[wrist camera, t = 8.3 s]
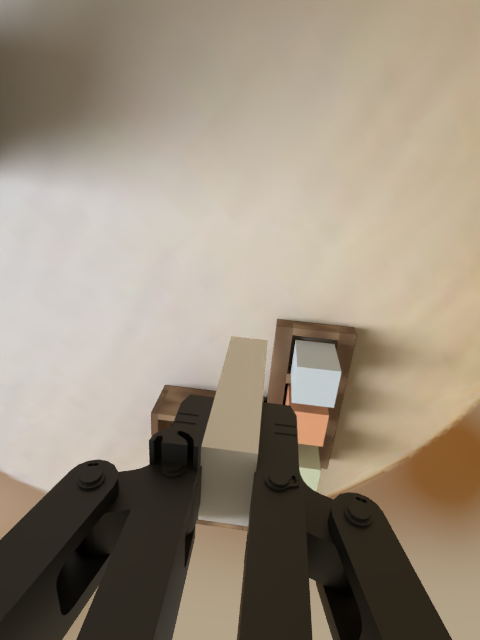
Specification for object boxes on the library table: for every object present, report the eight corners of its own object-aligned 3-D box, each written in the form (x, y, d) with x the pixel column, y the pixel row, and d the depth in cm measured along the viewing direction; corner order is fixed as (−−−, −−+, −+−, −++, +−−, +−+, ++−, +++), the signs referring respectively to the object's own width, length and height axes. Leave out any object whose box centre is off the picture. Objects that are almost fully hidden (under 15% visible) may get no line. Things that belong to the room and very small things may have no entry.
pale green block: (278, 456, 52) (277, 493, 46) (282, 430, 50) (281, 464, 45) (311, 461, 52) (314, 498, 46) (316, 434, 50) (320, 470, 44)
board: (260, 449, 55) (260, 460, 53) (277, 319, 46) (276, 326, 45) (325, 458, 54) (327, 469, 52) (353, 327, 46) (356, 334, 44)
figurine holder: (165, 483, 59) (153, 517, 54) (164, 385, 52) (151, 413, 46) (252, 495, 58) (249, 531, 53) (264, 397, 51) (262, 427, 46)
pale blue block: (290, 372, 46) (291, 402, 41) (295, 339, 45) (297, 366, 39) (328, 377, 46) (333, 407, 41) (334, 344, 44) (341, 371, 39)
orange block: (284, 409, 50) (284, 441, 45) (288, 381, 49) (288, 410, 43) (318, 414, 50) (322, 446, 45) (323, 385, 48) (329, 415, 43)
